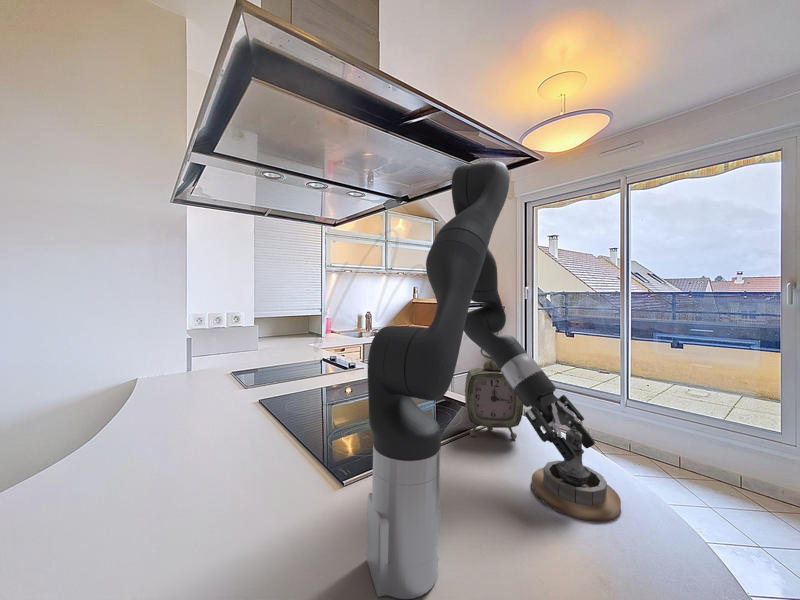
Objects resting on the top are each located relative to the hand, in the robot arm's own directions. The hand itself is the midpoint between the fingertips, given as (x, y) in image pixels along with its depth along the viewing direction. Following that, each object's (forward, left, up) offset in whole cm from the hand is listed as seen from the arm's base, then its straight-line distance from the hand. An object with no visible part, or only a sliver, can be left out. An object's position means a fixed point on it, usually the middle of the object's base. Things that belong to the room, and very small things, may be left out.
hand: (582, 452), depth 61 cm
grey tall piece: (-1, +1, -8) cm, 8 cm away
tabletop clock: (+1, +29, -9) cm, 31 cm away
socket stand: (0, +1, -9) cm, 9 cm away
